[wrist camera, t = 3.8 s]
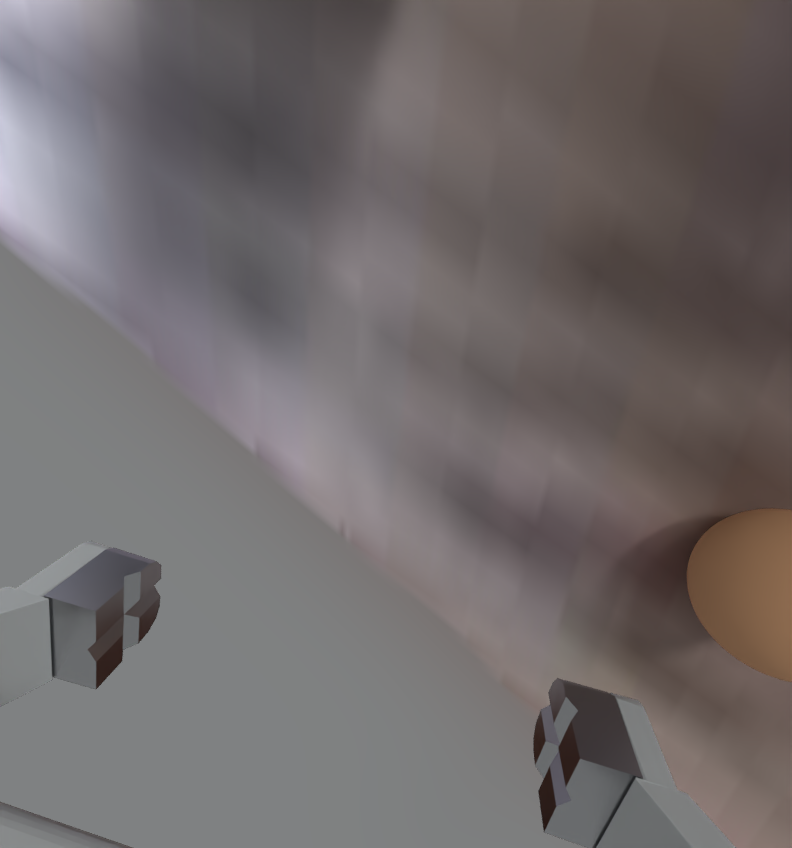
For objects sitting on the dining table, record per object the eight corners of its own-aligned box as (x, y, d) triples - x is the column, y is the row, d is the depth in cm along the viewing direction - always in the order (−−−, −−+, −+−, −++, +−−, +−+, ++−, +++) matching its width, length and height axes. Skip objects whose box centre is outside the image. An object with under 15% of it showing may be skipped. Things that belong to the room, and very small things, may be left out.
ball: (699, 465, 15) (793, 548, 11) (851, 504, 15) (1014, 607, 10) (641, 581, 17) (701, 695, 12) (776, 619, 17) (889, 751, 12)
